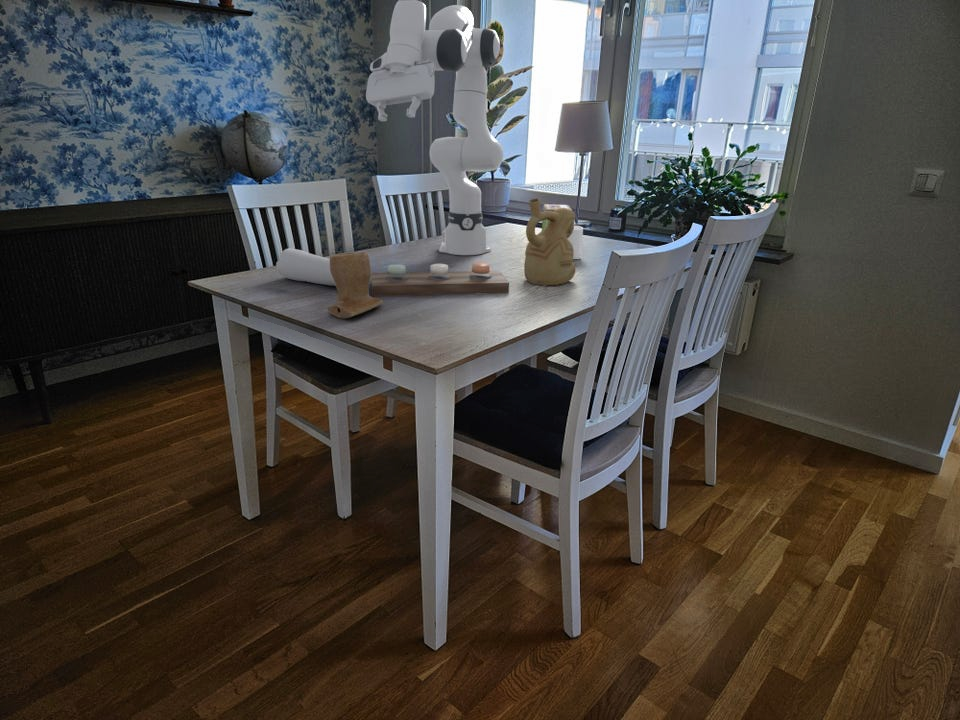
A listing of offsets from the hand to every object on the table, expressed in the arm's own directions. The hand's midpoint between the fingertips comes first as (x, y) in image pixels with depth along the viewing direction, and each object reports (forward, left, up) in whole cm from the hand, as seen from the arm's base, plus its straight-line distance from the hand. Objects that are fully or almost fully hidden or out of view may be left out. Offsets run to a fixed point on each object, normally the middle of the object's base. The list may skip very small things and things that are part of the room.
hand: (396, 118), depth 158 cm
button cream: (-3, +11, -41) cm, 42 cm away
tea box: (-60, +61, -46) cm, 97 cm away
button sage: (-3, -1, -41) cm, 41 cm away
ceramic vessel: (-8, +44, -46) cm, 64 cm away
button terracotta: (-3, +23, -41) cm, 47 cm away
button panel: (-3, +11, -45) cm, 47 cm away
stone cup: (+17, -13, -46) cm, 50 cm away
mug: (-37, +59, -46) cm, 83 cm away
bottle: (-9, -22, -46) cm, 51 cm away
